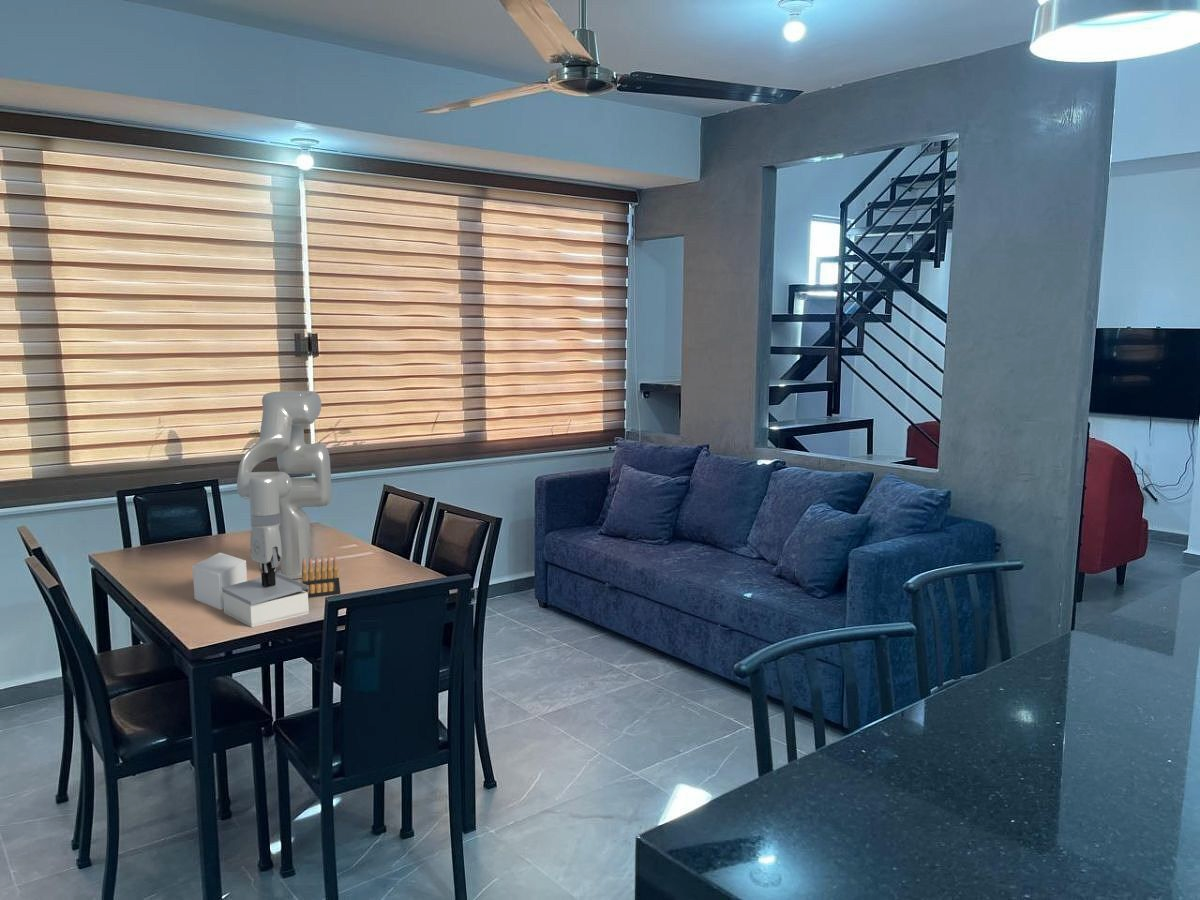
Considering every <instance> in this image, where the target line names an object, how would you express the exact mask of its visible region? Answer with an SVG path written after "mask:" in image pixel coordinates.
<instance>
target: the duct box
mask: <svg viewBox="0 0 1200 900" xmlns="http://www.w3.org/2000/svg"><path fill="white" fill-rule="evenodd" d="M223 601H224V608H223V614H226V615H227V616H229V617H231V618H233V619H235V620H237V621H239V622H241V623H242V624H245V625H247V626H248V627H251V628H254V627H259V626H262V625H268V624H271V623H276V622H279V621H284V620H288V619H292V618H296V617H301V616H305V615H309V614H310V610H309V608H310V607H309V598H308V592H305V591H299V592H296V593H292V594H289V595H286V596H282V597H279V598H275V599H272V600H268V601H265V602H261V603H258V604H254V605H250V604H248V603H246V602H243V601H241V600H239V599H237V598H235V597H233V596H231V595H229V594H227V593H225V592H223Z"/></svg>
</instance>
